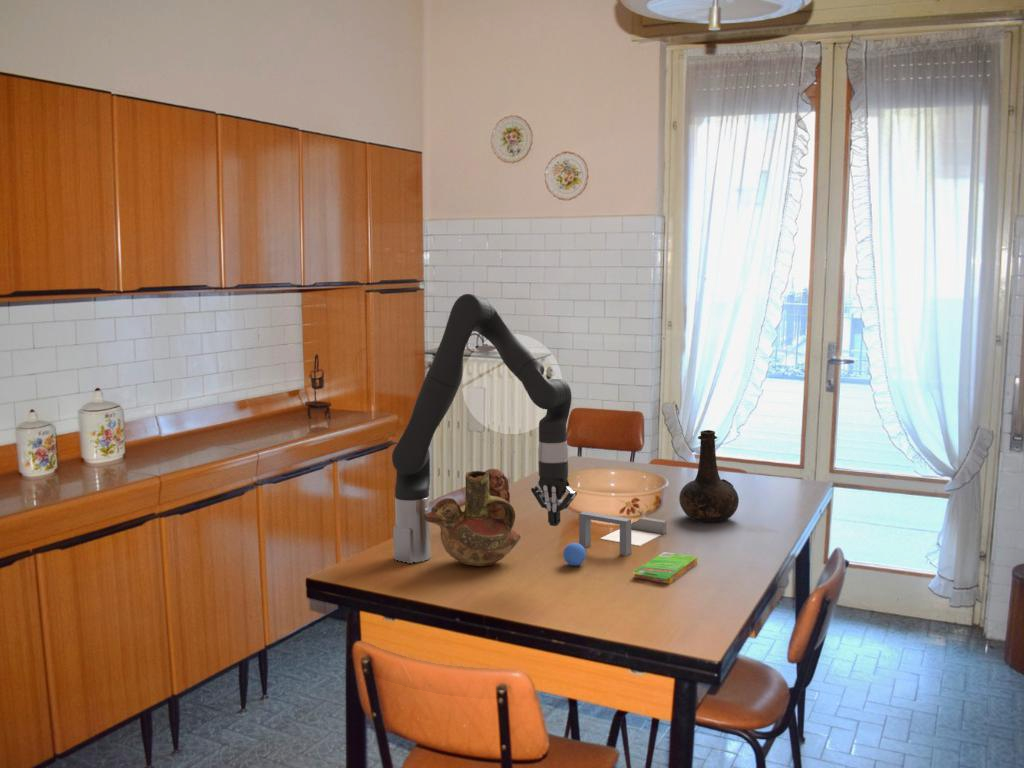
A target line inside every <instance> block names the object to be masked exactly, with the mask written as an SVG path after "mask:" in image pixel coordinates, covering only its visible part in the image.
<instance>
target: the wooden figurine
mask: <svg viewBox="0 0 1024 768" xmlns="http://www.w3.org/2000/svg"><path fill="white" fill-rule="evenodd" d="M484 472H488V473H489V494H490V496H496V497H500V498H503V499H505V500H506V501H508V502H509V503H510V504H511V493H510V486H509V479H508V478H507V476H505V474H504V472H503V471H501V470H500V469H497V468H489V469H487V470H485V471H484ZM490 513H491V515H493V516H494V517H497V518H503V517H504V516H505V510H504V508H503V507H502V506H501V505H499V504H493V505H491V507H490Z"/></svg>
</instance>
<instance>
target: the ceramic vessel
mask: <svg viewBox="0 0 1024 768" xmlns="http://www.w3.org/2000/svg"><path fill="white" fill-rule="evenodd" d="M464 478H465V503H464V504H465V505H464V510H462V508H461V506H460V505H459V504H458V502H457V501H456V500H455V499H454V498H453V497H452V498H451V497H446V498H442V499H440V500H439V501H437V502H436V504H435V505H434V506H432V507H431V510H430V511H429V513H427V514H425V515H424V517H425V520H426V521H427V522H430V523H431V524H434V525H437V526H439V527H440V541H441V543H442V546H443V548H444V550H445V552H446V553H447V554H448V555H449V556H451V557H452V558H453V559H454V560H455V561H456V562H457V561H458V562H459V563H461V564H464V565H468V566H474V567H486V566H490V565H493V564H496V563H497V562H499V561H501V560H503V559H504V557H506V556H507V555H508V554H509V553H510V552H511V551H512V550H513V549H514V548H515V547H516V545H517V544H518V543H519V541H520V539H521V534H519V533H518V532H516V531H515V530H513V527H514V524H515V521H516V511H515V509H514V507H513V505H512V504H511V502H510V503H509V502H508V501H506V500H505V499H503V498H500V497H496V496H490V494H489V473H488V472H485V471H481V470H472V471H467V472H466V474H465V477H464ZM493 504H499V505H501V506H502V507H503V508H504V510H505V516H504V517H503V518H497V517H494V516H493V515H491V513H490V507H491V505H493Z"/></svg>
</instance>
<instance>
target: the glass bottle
mask: <svg viewBox="0 0 1024 768" xmlns="http://www.w3.org/2000/svg"><path fill="white" fill-rule="evenodd" d="M717 438H718V436H716V431H714V430H710V429H706V430H705V429H704V430H701V431H700V435H699V436H698V437H697V440H700V444H699V445H700V447H699V448H700V449H699V461H698V469H697V474H696V477H695V478H694V480H691V481H688V482H687V483H686V484H685V485H684V486H683V487H682V488H681V491H680V493H679V499H678V500H679V505H680V507H681V510H682V511H683V512H684V513H685V515H686V516H687V517H689V518H690V519H691V520H693V521H696V522H699V523H700V522H701V523H704V524H706V523H707V524H715V523H722V522H725V521H727V520H728V519H730V518H731V517H733V515H735V513H736V511H737V510H738V506H739V494H738V492H737V490H736V489H735V487H734V485H733V484H732V483H731V482H729V481H728V480H726V479H724V478H722V479H721V477H720V474H719V471H718V466H717V465H718V464H717V455H716V439H717Z"/></svg>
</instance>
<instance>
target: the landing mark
mask: <svg viewBox="0 0 1024 768" xmlns="http://www.w3.org/2000/svg"><path fill="white" fill-rule="evenodd" d="M660 536H661V537H662V534H660V533H654V532H649V531H643V530H637V529H631V546H636V547H641V546H643V545H645V544H647V543H650V542H651V541H653V540H655V539H657V538H659V537H660ZM599 539H600V540H604V541H610V542H613V543H614V542H615V543H620V528H619V529H617V530H614V531H613V532H611V533H608V534H607V535H604V536H602V537H600V538H599Z"/></svg>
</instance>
